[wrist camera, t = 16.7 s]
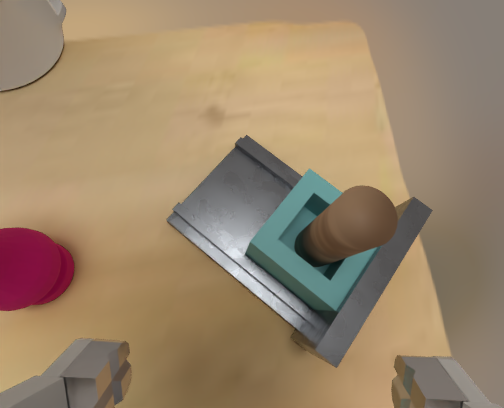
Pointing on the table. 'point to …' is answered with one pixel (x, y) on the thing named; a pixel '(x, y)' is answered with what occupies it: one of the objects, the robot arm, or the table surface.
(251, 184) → the track
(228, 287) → the table surface
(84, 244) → the table surface
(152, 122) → the table surface
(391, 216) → the dowel
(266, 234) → the socket block
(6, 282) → the pepper mill
